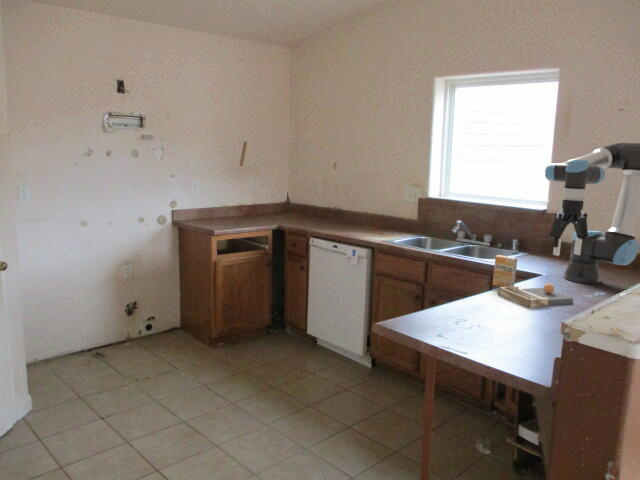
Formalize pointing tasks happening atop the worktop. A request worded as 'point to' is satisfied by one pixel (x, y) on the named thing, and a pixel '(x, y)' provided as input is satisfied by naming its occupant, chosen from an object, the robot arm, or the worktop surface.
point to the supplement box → (504, 271)
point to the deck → (545, 296)
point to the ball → (548, 288)
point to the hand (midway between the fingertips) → (566, 254)
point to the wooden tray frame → (521, 297)
